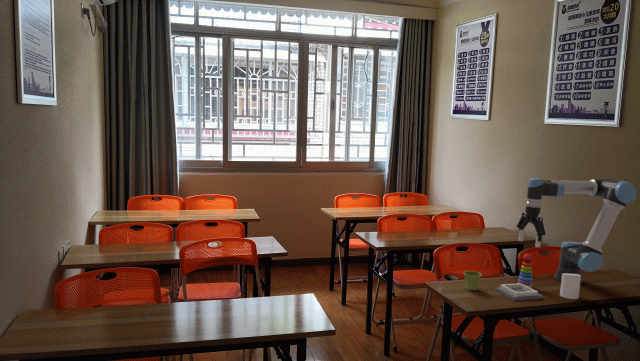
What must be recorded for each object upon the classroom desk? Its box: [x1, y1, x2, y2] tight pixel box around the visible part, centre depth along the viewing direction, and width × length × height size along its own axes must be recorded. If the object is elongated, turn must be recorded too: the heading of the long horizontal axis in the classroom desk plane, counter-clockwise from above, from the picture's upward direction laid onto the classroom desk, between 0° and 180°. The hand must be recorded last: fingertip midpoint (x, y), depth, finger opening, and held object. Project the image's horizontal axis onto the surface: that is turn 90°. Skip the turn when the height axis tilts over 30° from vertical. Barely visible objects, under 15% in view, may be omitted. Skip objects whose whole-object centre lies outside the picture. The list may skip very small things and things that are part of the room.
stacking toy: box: [516, 253, 534, 289], centre depth 286 cm, size 8×8×19 cm
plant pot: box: [463, 270, 483, 292], centre depth 277 cm, size 9×9×9 cm
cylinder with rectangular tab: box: [559, 273, 581, 300], centre depth 274 cm, size 9×9×12 cm
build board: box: [494, 283, 544, 302], centre depth 273 cm, size 18×16×4 cm
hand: (529, 244), depth 284 cm, fingers open, 13 cm apart
